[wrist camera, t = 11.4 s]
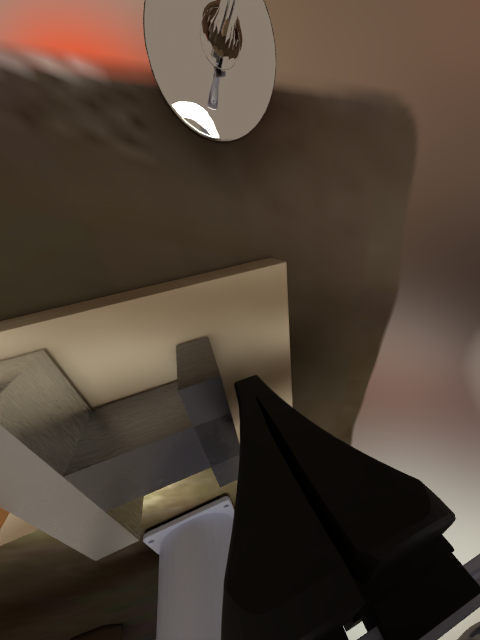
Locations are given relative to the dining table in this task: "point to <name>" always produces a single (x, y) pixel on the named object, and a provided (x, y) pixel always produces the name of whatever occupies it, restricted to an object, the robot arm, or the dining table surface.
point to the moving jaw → (107, 447)
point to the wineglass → (212, 62)
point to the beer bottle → (103, 633)
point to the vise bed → (162, 338)
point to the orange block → (3, 516)
